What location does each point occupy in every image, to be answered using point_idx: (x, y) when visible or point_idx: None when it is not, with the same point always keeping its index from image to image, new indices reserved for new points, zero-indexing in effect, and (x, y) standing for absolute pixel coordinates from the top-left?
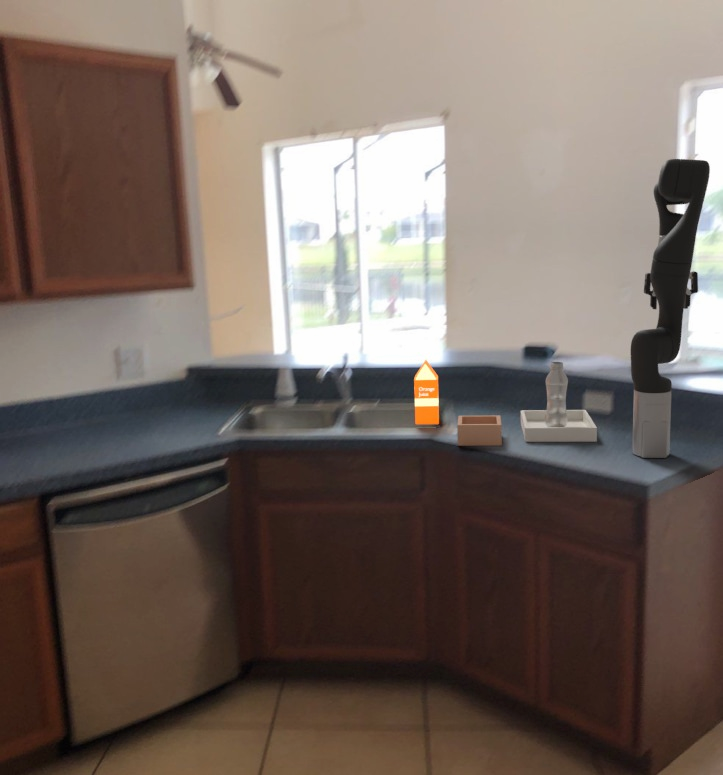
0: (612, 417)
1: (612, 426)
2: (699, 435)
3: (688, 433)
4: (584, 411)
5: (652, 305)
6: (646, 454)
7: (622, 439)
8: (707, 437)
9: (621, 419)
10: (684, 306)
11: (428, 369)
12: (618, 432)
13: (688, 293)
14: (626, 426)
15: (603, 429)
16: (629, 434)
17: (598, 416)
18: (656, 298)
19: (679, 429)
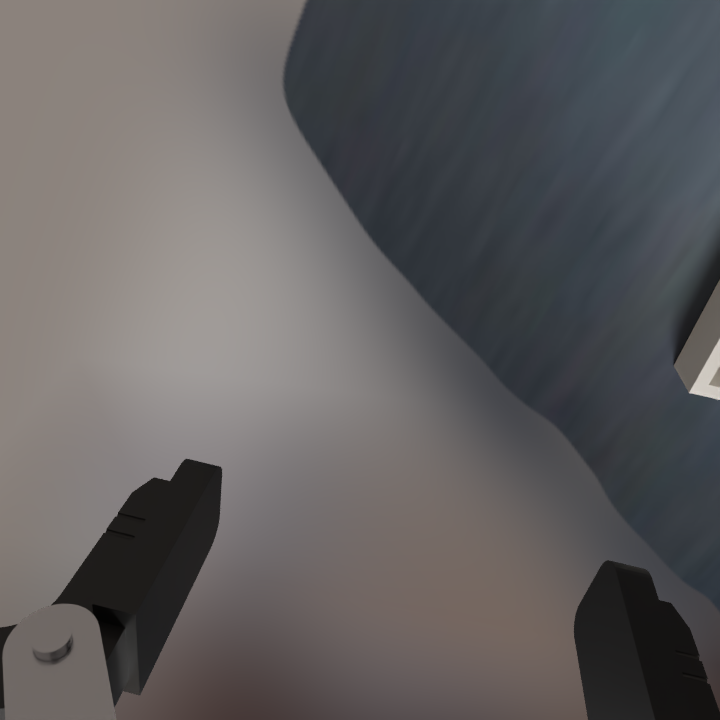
0: (533, 405)
1: (611, 283)
2: (354, 59)
3: (382, 104)
4: (712, 368)
5: (671, 628)
6: None
7: (707, 53)
8: (337, 16)
9: (518, 371)
10: (210, 511)
11: None
12: (646, 183)
13: (68, 632)
14: (558, 270)
15: (675, 245)
16: (622, 139)
17: (573, 429)
18: (658, 714)
19: (386, 177)
